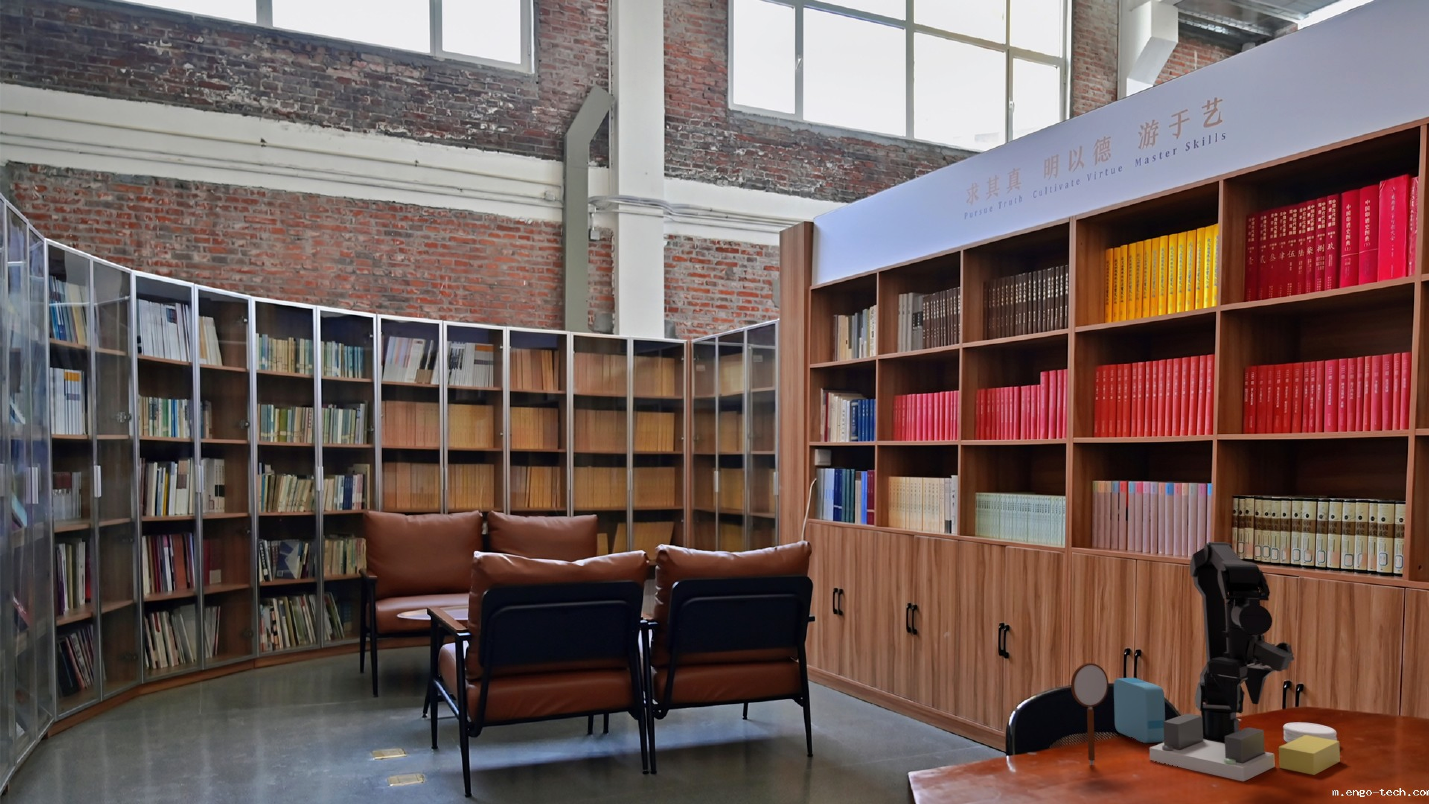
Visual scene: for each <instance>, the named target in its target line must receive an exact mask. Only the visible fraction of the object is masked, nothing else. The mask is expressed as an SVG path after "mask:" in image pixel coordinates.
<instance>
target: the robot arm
mask: <svg viewBox="0 0 1429 804" xmlns="http://www.w3.org/2000/svg"><path fill="white" fill-rule="evenodd" d="M1189 574H1190V576H1191V578H1192V579H1193V585H1194V586H1193V587H1195V589H1196V590H1197V591H1198V593H1199V594H1200V596H1201V597H1202V607H1203V608H1202V611H1203V623H1204V624H1203V627H1204V637H1205V640H1204V641H1205V653H1206V654H1205V655H1206V656H1205V657H1206V664H1205V666H1204V667H1203V669H1202V670H1201V672H1200V674H1199V682H1198V683H1197V687H1196V690H1195V691H1196V692H1195V695H1194V703H1195V707H1196V709H1197V710H1198V711H1199V712H1200V713H1201V714H1200V716H1202V724H1203V740H1208V741H1213V742H1218V743H1223V744H1225V736H1227V735H1230V734H1232V733H1235V732H1237V731H1240V721H1239V718H1237V714H1242V712H1244V700H1245V694H1246V693H1245V691H1244V690H1243V686H1242V684H1243V683H1245V687H1246V689H1247V693H1248V696H1249V698H1250V702H1251V704H1252V705H1259V704H1260V700H1261V696H1262V694H1263V690H1264V686H1265V683H1266V680H1267V678H1268V677H1269V676H1270V675H1271V674H1273V673H1275V672H1283V671H1284V670H1285V671H1287V670H1288V669H1289V666H1290V663H1291V662H1293V661H1294V660H1295V658H1294V653H1293V650H1292V645H1291V644H1289V643H1287V642H1285V641H1282V642H1279V643H1278V644H1277V645H1276V644H1274V643H1269V642H1266V641H1265V640H1266V639H1265V635H1264V634H1266V633H1268V632H1269V631H1270V629H1271V628H1272V626H1273V617H1272V615H1271V613H1270V611H1269V610H1268V608H1266V607H1264V606H1263V605H1262V604H1261V601H1262V602H1263V601H1265V602H1268V601H1270V599H1269V597H1270V594H1271V591H1270V588H1269V585H1268V581H1267V577H1266V576H1265V575H1264V573H1263V571H1262V569H1260V567H1259V566H1258V564H1256V563H1255V562H1252V561H1245V560H1243V559H1241V558H1240V557H1239V556H1238V554H1237V553H1236V552H1235V551H1234V549H1233V546H1232V544H1231V543H1228V542H1226V541H1225V542H1223V541H1222V542H1219V541H1218V542H1217V541H1216V542H1215V541H1208V542H1207V543H1206V542H1205V543H1204V545H1203V547H1202V548H1201V549H1199V550H1198V551H1196V552H1194V553H1193V554H1192V556H1191V559H1190V562H1189Z"/></svg>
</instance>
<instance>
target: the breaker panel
mask: <svg viewBox="0 0 1429 804" xmlns="http://www.w3.org/2000/svg"><path fill="white" fill-rule="evenodd" d="M1150 760H1154V761H1153V762H1155V761H1157V762H1156V763H1159V762H1160V763H1159V764H1164V763H1166V764H1165V765H1168V764H1169V765H1168V766H1172V765H1173V767H1177V766H1178V768H1182V769H1187V770H1189V771H1190V770H1191V771H1195V772H1198V773H1204V774H1208V775H1213V776H1217V777H1222V778H1226V779H1232V780H1235V781H1240V782H1246V781H1247V780H1249V779H1251V778H1254V777H1256V776H1258V775H1260V774H1262V773H1264V772H1267V771H1268V770H1270V769H1272V768H1275V766H1276V764H1275V763H1276V762H1275V753H1272V752H1267V751H1265V754H1263V755H1261V756H1259V757H1256V758H1254V759H1252V760H1250V761H1248V762H1245V763H1243V764H1242V763H1237V762H1236V760H1234V759H1230V758H1225V743H1223V742H1218V741H1213V740H1208V739H1203V741H1202V742H1200V743H1197V744H1195V745H1192V746H1190V747H1187V748H1185V749H1182V750H1176V749H1173V747H1172V746H1168V745H1164V742H1160V743H1158V744H1157V745H1153V746H1150V747H1149V761H1150Z"/></svg>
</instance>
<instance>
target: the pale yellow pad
mask: <svg viewBox="0 0 1429 804" xmlns="http://www.w3.org/2000/svg"><path fill="white" fill-rule="evenodd" d="M1340 751H1341V749H1340V741H1339V740H1337V741H1335V740H1330V739H1324V738H1319V737H1313V736H1308V735H1304V736H1302V737H1300V738H1298V739H1296V740H1293V741H1291V742H1289V743H1287V742H1286V743H1285V744H1282V745H1280V746H1279V747H1278V763H1279V764H1278V765H1279V769H1284V770H1288V771H1293V772H1299V773H1303V774H1308V775H1313V776H1315V775H1317V774H1319V773H1320V772H1323V771H1325V770H1326V769H1328V768H1330V767H1332V766H1334V765H1336V764H1338V763H1340V762H1341V752H1340Z"/></svg>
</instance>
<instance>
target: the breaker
mask: <svg viewBox="0 0 1429 804" xmlns="http://www.w3.org/2000/svg"><path fill="white" fill-rule="evenodd" d="M1163 723H1164V742H1163V743H1164V745H1168V746H1172V747H1173V749H1176V750H1182V749H1185V748H1187V747H1190V746H1192V745H1195V744H1197V743H1200V742H1202V741H1203V740H1204V739H1203V724H1202V716H1201V714H1200V715H1199V714H1195V713H1194V714H1193V713H1189V712H1187V713H1185V714H1182V715H1179V716H1176V717H1173V718H1170V719H1167V720H1165V721H1164V722H1163Z"/></svg>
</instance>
